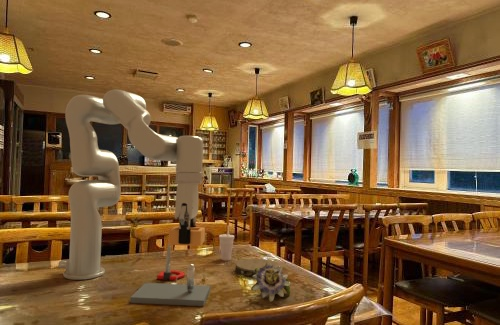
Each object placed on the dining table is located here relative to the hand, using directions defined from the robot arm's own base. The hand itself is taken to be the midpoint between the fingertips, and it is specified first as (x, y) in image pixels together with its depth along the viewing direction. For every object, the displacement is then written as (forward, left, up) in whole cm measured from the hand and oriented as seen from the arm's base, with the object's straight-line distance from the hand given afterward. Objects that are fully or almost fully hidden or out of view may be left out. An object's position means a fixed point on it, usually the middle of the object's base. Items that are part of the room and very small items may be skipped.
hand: (187, 240), depth 100 cm
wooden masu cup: (0, 0, -1) cm, 1 cm away
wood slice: (+20, +28, -17) cm, 39 cm away
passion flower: (+24, +4, -16) cm, 30 cm away
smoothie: (+7, +43, -16) cm, 47 cm away
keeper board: (-4, 0, -16) cm, 17 cm away
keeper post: (+1, 0, -15) cm, 15 cm away
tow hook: (-9, +18, -17) cm, 26 cm away
